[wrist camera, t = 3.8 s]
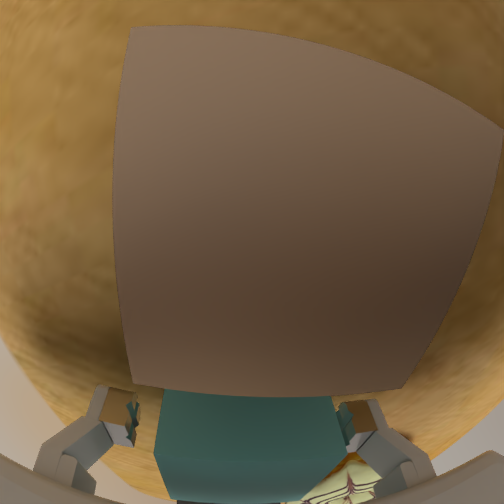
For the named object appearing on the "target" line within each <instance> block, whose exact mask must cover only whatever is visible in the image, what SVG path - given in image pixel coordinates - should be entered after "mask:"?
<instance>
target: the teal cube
mask: <svg viewBox="0 0 504 504" xmlns="http://www.w3.org/2000/svg"><path fill="white" fill-rule="evenodd" d="M347 454H348V452H347V449H346V446H345V442H344V439H343V435H342V432H341V429H340V425H339V422H338V419H337V415H336V412H335V409H334V406H333V402H332V399H331V396H317V397H249V396H230V395H216V394H205V393H195V392H187V391H178V390H171V389H165V390H164V395H163V400H162V406H161V411H160V417H159V423H158V429H157V435H156V441H155V447H154V456H155V459H156V462H157V465H158V467H159V470H160V473H161V476H162V478H163V481H164V483H165V486H166V488H167V491H168V493H169V496H170V498H171V499H175V500H183V501H192V502H204V503H221V504H263V503H280V502H292V501H299V500H301V499H302V498H303V497H304V496H305V495H306V494H307V493H309V492H310V491H311V490H312V489H313V488H314V487H315V486H316V485H317V484H318V483H320V482H321V481H322V480H323V479H324V478H325V477H326V476H327V475H328V474H329V473H330V472H331V471H332V470H333V469H334V468H335V467H336V466H337V465H338V464H339V463H340V462H341V461H342V460H343V459H344V458H345V456H346V455H347Z"/></svg>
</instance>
